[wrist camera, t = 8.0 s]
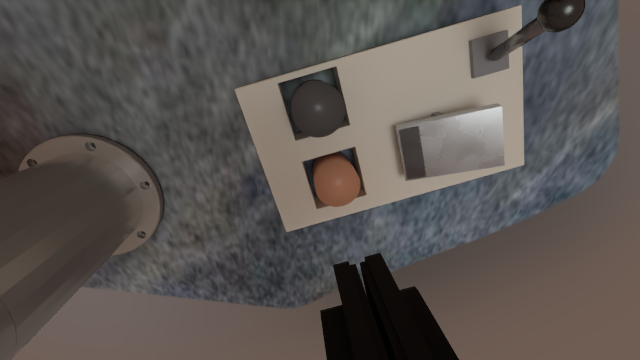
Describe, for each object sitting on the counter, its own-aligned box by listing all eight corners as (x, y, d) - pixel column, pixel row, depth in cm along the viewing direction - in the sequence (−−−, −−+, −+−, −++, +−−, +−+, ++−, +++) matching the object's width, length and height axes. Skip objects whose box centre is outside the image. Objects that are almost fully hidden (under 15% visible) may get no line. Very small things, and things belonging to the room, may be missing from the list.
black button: (298, 131, 27) (300, 143, 23) (285, 87, 26) (284, 91, 22) (341, 119, 27) (350, 129, 23) (330, 73, 26) (337, 75, 21)
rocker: (404, 175, 28) (405, 182, 27) (395, 124, 26) (396, 128, 25) (499, 160, 26) (505, 166, 25) (497, 103, 24) (502, 106, 23)
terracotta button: (318, 192, 31) (321, 211, 27) (307, 156, 30) (309, 171, 26) (355, 181, 31) (364, 199, 27) (346, 145, 30) (354, 158, 26)
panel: (286, 217, 32) (286, 238, 28) (240, 86, 27) (231, 90, 23) (503, 156, 32) (533, 168, 28) (497, 11, 27) (533, 1, 23)
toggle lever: (483, 73, 25) (561, 25, 17) (476, 47, 25) (551, -14, 16) (509, 66, 25) (600, 14, 17) (502, 39, 25) (590, -25, 16)
